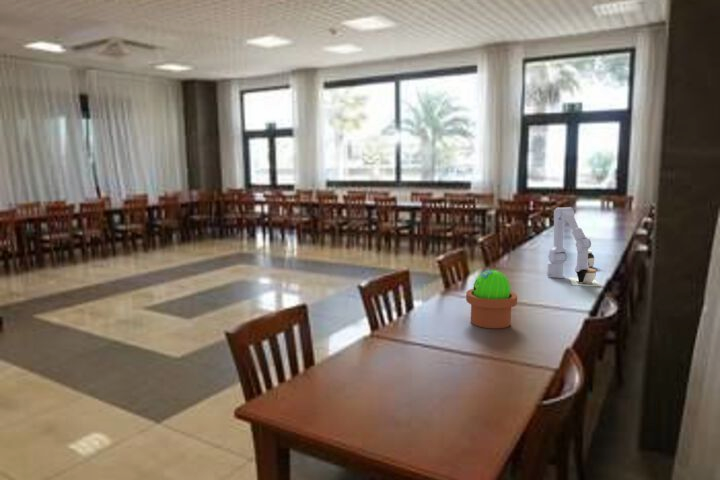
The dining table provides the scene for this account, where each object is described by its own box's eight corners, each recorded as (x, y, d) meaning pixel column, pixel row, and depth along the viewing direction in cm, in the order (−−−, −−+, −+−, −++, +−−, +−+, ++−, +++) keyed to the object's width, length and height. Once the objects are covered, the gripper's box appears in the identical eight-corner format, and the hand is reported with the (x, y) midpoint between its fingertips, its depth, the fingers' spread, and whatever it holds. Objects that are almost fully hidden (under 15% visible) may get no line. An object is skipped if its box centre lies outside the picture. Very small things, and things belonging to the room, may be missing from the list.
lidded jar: (598, 284, 310) (599, 268, 309) (580, 284, 310) (581, 268, 309) (590, 280, 321) (591, 265, 319) (573, 280, 321) (574, 264, 319)
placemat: (573, 284, 310) (573, 284, 310) (568, 277, 328) (568, 277, 328) (600, 286, 306) (600, 285, 306) (594, 279, 324) (594, 278, 324)
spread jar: (591, 266, 364) (592, 249, 362) (596, 269, 353) (598, 252, 351) (573, 265, 365) (574, 249, 363) (578, 269, 354) (579, 252, 352)
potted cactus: (506, 315, 250) (509, 263, 246) (522, 330, 228) (525, 274, 224) (460, 316, 249) (462, 264, 245) (472, 331, 227) (474, 274, 223)
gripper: (584, 261, 300) (582, 285, 302) (594, 258, 310) (592, 281, 312) (572, 260, 305) (570, 283, 307) (582, 256, 315) (580, 279, 317)
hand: (580, 282), depth 310 cm, fingers closed
